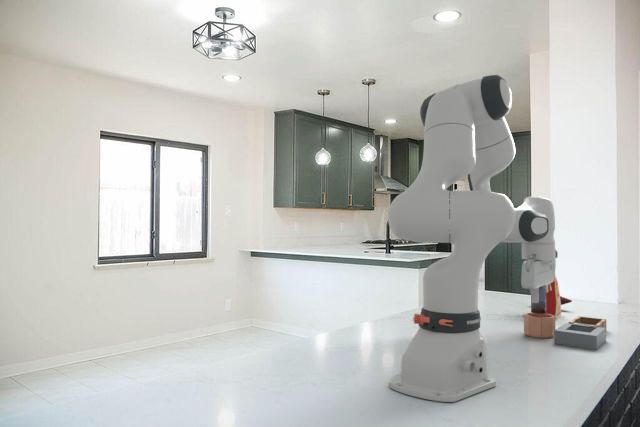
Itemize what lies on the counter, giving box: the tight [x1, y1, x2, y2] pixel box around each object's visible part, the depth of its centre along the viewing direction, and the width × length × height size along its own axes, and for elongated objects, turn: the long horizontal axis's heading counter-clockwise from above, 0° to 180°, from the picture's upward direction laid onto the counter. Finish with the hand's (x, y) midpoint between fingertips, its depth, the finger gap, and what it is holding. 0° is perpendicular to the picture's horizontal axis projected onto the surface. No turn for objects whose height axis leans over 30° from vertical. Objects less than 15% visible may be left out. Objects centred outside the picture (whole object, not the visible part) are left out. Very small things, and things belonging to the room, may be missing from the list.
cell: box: [530, 285, 546, 314], centre depth 141 cm, size 4×4×9 cm
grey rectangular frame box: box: [553, 322, 607, 350], centre depth 132 cm, size 12×10×4 cm
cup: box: [523, 312, 556, 339], centre depth 141 cm, size 8×8×6 cm
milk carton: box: [530, 274, 562, 320], centre depth 169 cm, size 9×9×20 cm
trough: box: [568, 315, 607, 329], centre depth 144 cm, size 12×8×3 cm, turn 140°
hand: (538, 301), depth 141 cm, fingers closed on cell, 4 cm apart
